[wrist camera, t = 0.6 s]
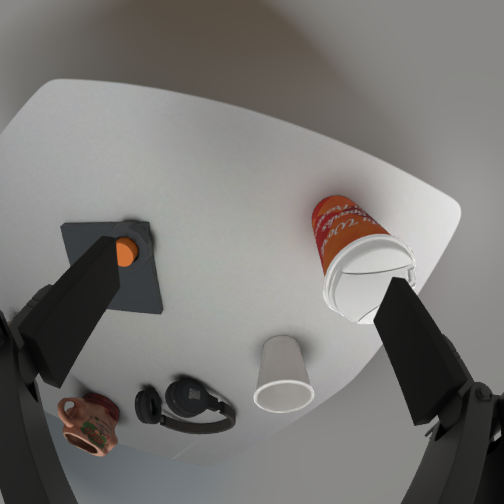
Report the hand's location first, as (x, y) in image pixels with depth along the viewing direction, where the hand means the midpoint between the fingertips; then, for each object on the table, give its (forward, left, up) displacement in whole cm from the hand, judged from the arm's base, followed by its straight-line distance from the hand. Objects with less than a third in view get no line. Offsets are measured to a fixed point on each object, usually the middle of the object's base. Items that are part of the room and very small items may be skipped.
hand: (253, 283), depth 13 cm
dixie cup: (+27, +5, -22) cm, 35 cm away
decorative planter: (+52, -37, -22) cm, 68 cm away
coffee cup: (+5, +10, -22) cm, 24 cm away
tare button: (+8, -16, -19) cm, 26 cm away
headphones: (+46, -12, -22) cm, 52 cm away
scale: (+13, -20, -22) cm, 33 cm away
